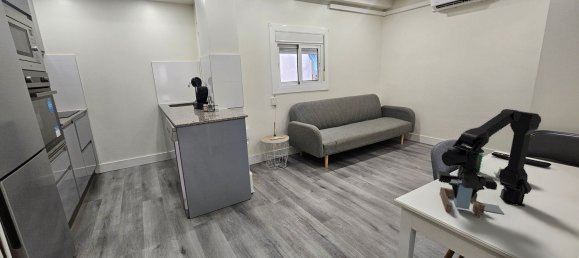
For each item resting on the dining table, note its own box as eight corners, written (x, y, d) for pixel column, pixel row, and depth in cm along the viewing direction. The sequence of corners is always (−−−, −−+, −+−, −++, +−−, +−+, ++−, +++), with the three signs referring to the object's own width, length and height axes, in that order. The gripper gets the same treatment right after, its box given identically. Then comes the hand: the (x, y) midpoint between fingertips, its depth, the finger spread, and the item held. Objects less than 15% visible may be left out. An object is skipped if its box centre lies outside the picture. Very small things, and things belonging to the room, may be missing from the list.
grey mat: (497, 206, 101) (498, 205, 101) (504, 214, 95) (504, 213, 95) (479, 202, 104) (479, 202, 104) (483, 210, 98) (484, 210, 98)
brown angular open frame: (475, 199, 106) (476, 192, 105) (487, 219, 92) (488, 211, 91) (439, 193, 112) (440, 187, 111) (445, 211, 98) (446, 204, 97)
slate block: (466, 204, 100) (470, 182, 97) (468, 209, 96) (473, 186, 93) (453, 201, 101) (457, 180, 99) (455, 207, 97) (459, 184, 95)
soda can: (481, 173, 132) (485, 153, 129) (471, 173, 133) (474, 152, 130) (476, 170, 137) (480, 150, 134) (466, 169, 138) (470, 149, 135)
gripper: (444, 167, 90) (438, 204, 94) (506, 175, 83) (498, 214, 87) (439, 157, 100) (434, 191, 104) (495, 163, 93) (487, 199, 97)
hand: (462, 199), depth 98 cm, fingers closed on slate block, 4 cm apart
